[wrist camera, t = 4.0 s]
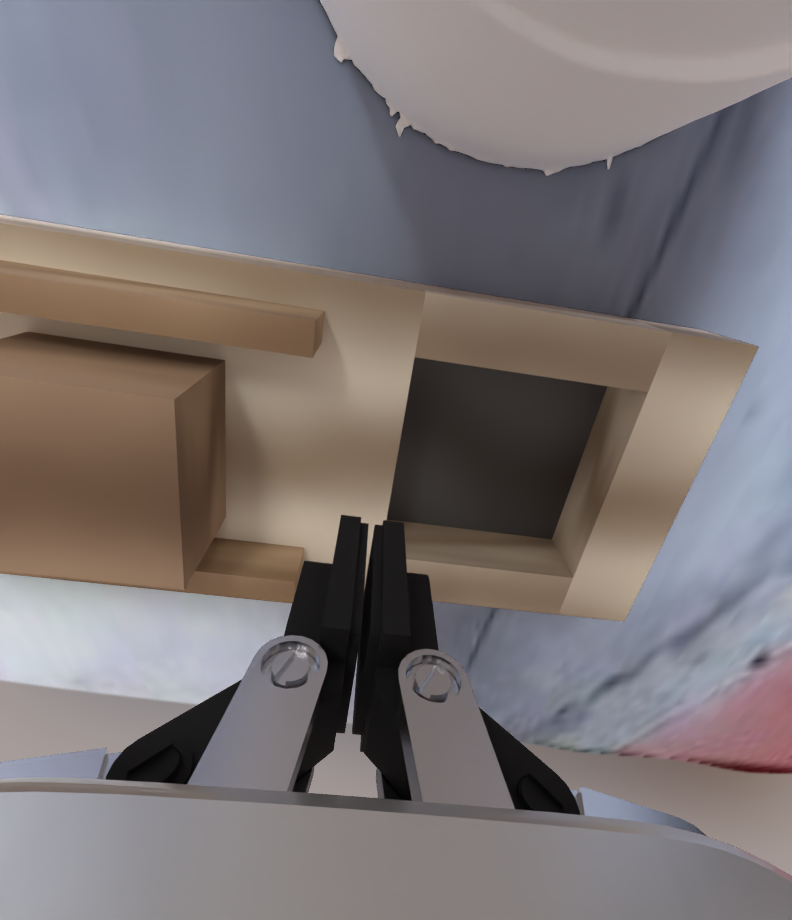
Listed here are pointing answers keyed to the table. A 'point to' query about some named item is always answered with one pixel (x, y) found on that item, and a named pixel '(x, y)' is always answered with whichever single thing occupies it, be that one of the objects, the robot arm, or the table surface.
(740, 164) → the table surface
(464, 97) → the white spouted jug
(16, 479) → the block
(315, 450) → the board
